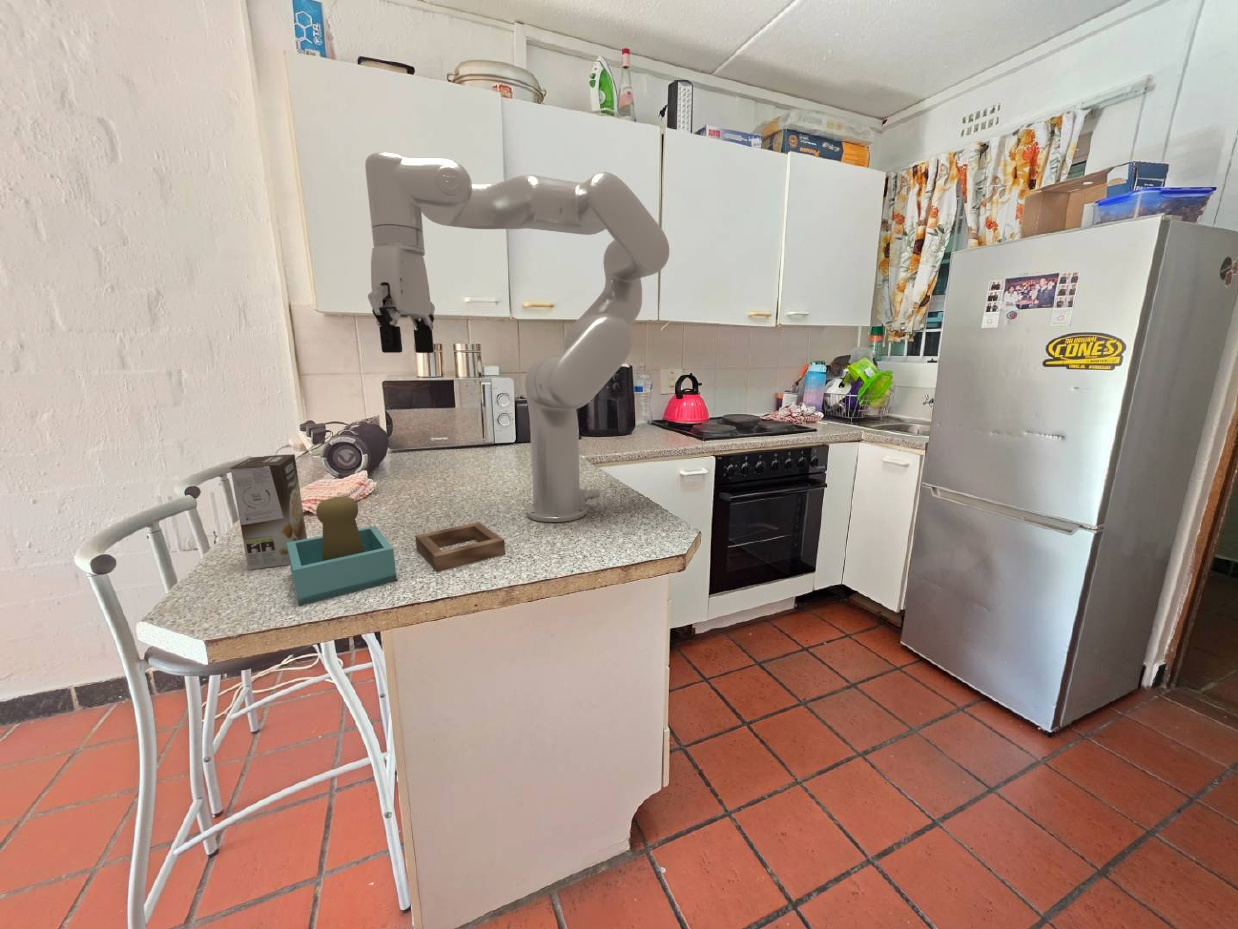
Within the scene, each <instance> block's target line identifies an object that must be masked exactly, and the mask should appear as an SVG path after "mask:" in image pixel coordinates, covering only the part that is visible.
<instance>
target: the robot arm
mask: <svg viewBox="0 0 1238 929" xmlns="http://www.w3.org/2000/svg"><path fill="white" fill-rule="evenodd" d="M364 166H365V177H366V186H367V195H368V205H369V206H368V207H369V214H370V224H371V234H372V235H371V236H372V242H373V247H372V250H371V257H370V259H371V260H370V279H371V280H370V281H371V282H370V284H371V285H370V286H371V292H369V293H368V294H367V299H368V301H369V304H370V306H371V308H372V310H371V311H372V314H373V316H374V317H375V319H376V320H375V321H376V325H377V326H378V328H379V337H380V346H381V351H382V353H384V354H385V353H386V354H388V353H389V354H390V353H391V354H392V353H394V354H395V353H396V354H399V353H402V352H403V344H402V342H403V340H402V335H401V331H402V330H401V326H398V323H399V321H400V318H405V319H406V318H409V317H410V320H411V322H412V323H413V325H414V327H415V329H413V337H414V338H413V339H414V347H415V348H414V349H415V350H414V351H415V352H416V353H417V354H433V353H434V352H435V349H434V348H435V347H434V337H433V329H434V324H433V323H434V321H435V316H434V315H435V311H436V310H435V309H436V308H435V305H434V304H433V302H432V301H431V295H430V294H431V292H430V286H429V280H428V274H427V272H428V271H427V268H426V264H425V262H426V261H425V258H424V256H425V255H426V251H425V250H426V249H425V238H424V228H423V218H422V217H423V216H424V217H425V218H426V219H428V220H430V221H431V222H433V223H435V224H438V225H441V226H445V227H453V228H463V229H472V230H520V229H521V230H522V229H530V230H540V231H547V232H556V233H565V234H573V235H574V234H575V235H585V236H589V235H591V236H592V235H596V234H598V233H601V232H604V231H605V230H606V232H608V234H609V235H610V236H611V238H612V239H613V240H612V241H611V242H610V243H609V244H608V245H607V246H606V249H605V250H604V254H603V262H602V263H603V270H604V274H605V275H604V276H605V280H604V281H605V283H604V288H603V290H602V292H601V293H600V294H599V296H598V297H597V298H596V300H595V301H594V302H593V303H592V304H591V305H590V306H589V307H588V309H587V310H586V311H585V312H584V313H583V314H582V315H581V316H580V317H579V318H578V319H577V320H575V322H574V323H573V324H572V326H570V328H569V329H568V331H567V333H566V335H565V337H564V348H565V351H564V352H563V353H562V354H561V355H547V356H542V357H539V359H536V360H535V361H534V362H532V364H531V365H530V366H529V368H528V369H527V371H526V374H525V382H524V388H525V389H524V391H525V397H526V402H527V403H526V404H527V408H528V415H529V416H528V417H529V428H530V432H529V433H530V453H531V454H530V456H531V478H532V479H531V480H532V482H531V483H532V500H533V501H532V503H531V504H529V505H528V506H527V507H526V508H525V515H526V516H527V517H528V518H529V519H531V520H534V521H536V522H542V523H543V522H544V523H563V522H570V521H571V522H572V521H574V520H578V519H582V518H583V517H585V515H587V514H588V511H589V510H588V507H589V506H588V505H587V504H586V502H587V501H588V500H593V499H594V500H595V499H598V498H600V496H601V492H600V490H599V489H598V488H595V489H590V490H588V489H587V488H581V487H580V486H581V484H580V480H581V479H580V451H579V449H580V448H579V446H580V445H579V444H580V443H579V438H580V435H579V434H580V432H579V430H580V428H579V418H578V413H577V410H578V409H580V408H583V407H584V406H586V405H587V404H588V403H589V402H590V401H591V400H593V399H594V398H595V397H596V395H597V394H598V393H599V392H600V391H601V390H602V389H603V388H604V387H605V385H606V384H607V383H608V382H609V381H610V380H611V379H612V377H613V376H614V375H615V374H616V373H617V371H618V370H620V369H621V367H622V366H623V365H624V364H625V362H626V361H627V359H628V357H629V355H630V352H631V349H632V344H633V334H632V330H631V326H632V324H633V323H635V321H636V319H637V318H638V316H639V314H640V312H641V309H642V305H643V287H642V286H643V285H642V278H646V277H650V276H652V275H655V274H658V273H659V272H660V271H662V270H663V268H664V267H665V266H666V264H667V262H668V260H669V258H670V245H669V240H668V238H667V235H666V234H665V232H664V230H663V229H662V227H661V226H660V225H659V223H658V222H657V221H656V219H655V218H654V217H653V216H652V214H651V213H650V212H649V210H648V209H647V208H646V206H644V204H643V203H642V201H641V200H640V199H639V198H638V196H637V195H636V194H635V193H634V192H633V190H632V189H631V188H630V187H629V186H628V185H627V184H626V183H625V182H624V181H623V180H622V179H621V178H620V177H618V176H616V175H615V174H613V173H611V172H607V171H602V172H600V171H599V172H597V173H596V174H594V175H593V176H591V177H590V178H588V179H587V180H586V181H584V182H578V181H571V180H563V179H558V178H552V177H546V176H542V175H536V174H524V175H523V174H522V175H519V176H515V177H512V178H509V179H506V180H504V181H503V180H502V181H500V182H497V183H489V184H488V183H487V184H473V182H472V179H471V176H470V174H469V172H468V171H467V170H466V168H464V166H463V165H462V164H460V163H459V162H458V161H456V160H452V159H450V158H446V157H410V156H409V157H408V156H407V157H406V156H404V155H402V154H398V153H394V152H387V151H386V152H384V151H382V152H380V151H379V152H373V153H371V154H369V155H368V156H367V158H366V159H365V164H364ZM422 215H423V216H422ZM419 319H420V320H419Z"/></svg>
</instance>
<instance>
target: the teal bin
mask: <svg viewBox="0 0 1238 929" xmlns="http://www.w3.org/2000/svg"><path fill="white" fill-rule="evenodd" d="M358 530H359V534H360V537H361V541H362V544H363V548H364V551H365V552H363V553H359V554H354V555H349V556H345V557H340V558H336V559H331V560H326V561H322V542H323V535H319V536H314V537H310V538H308V537H307V539H303V540H298V541H292V542H287V548H288V554H289V560H290V565H289V566H290V571H291V577H292V581H293V582H292V583H293V586H294V591H295V594H296V595H295V596H296V601H297V604H298V605H297V606H298V607H300V606H301V607H302V606H305V605H309V604H312V603H317V602H320V601H323V600H328V599H332V598H337V597H339V596H343V595H347V594H348V595H349V594H351V593H355V592H359V591H363V590H367V589H370V588H374V587H378V586H383V585H387V584H390V583H394V582H397V581H398V579H397V569H396V568H397V567H396V560H395V559H396V558H395V550H394V547H393V546H392V545H391V543H390V542H389V541H388V540H387V538H386V537H385V536H384V535H383V533H382V531H381V530H380V529H379V528H378V527H377V526H376V525H372V526H367V527H362V528H358Z"/></svg>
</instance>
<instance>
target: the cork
mask: <svg viewBox="0 0 1238 929" xmlns="http://www.w3.org/2000/svg"><path fill="white" fill-rule="evenodd" d="M315 514H316V518H317V519H318V521H319V522H320V523H321V524H322V536H323V542H322V561H326V560H331V559H336V558H340V557H345V556H349V555H354V554H359V553H363V552H365V551H364V548H363V544H362V541H361V537H360V534H359V530H358V529H359V527H358V524H357V520H356V519H357V517H358V514H359V505H358V503H357V501H356V500H355V499H354V498H352V497H348V496H336V497H335V496H334V497H331V498H327V499H324V500H322V501H320V502H319V503H318V505H317V507H316V511H315Z"/></svg>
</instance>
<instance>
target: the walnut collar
mask: <svg viewBox="0 0 1238 929" xmlns="http://www.w3.org/2000/svg"><path fill="white" fill-rule="evenodd" d="M414 539H415V546H416V548H415V549H416V551H417V552H418V554H420V555H421V556H422V557H423V559H425V561H426V562H427V563H428V564H429V565H430V567H432V568H433V570H434V571H435V572H436V573H438V572H442V571H445V570H450V569H453V568H457V567H462V566H465V565H469V564H473V563H478V562H481V561H484V560H488V558H489V559H492V558H496V557H500V556H501V557H502V556H504V554H505V555H506V546H505V542H506V541H505V539H503V537H501V536H500V535H498V534H496V533H495V532H494V531H492V530H491V529H489V527H487V526H485V525H484V524H483V523H481V522H480V521H478V522H473V523H469V524H467V523H466V524H463V525H459V526H454V527H449V528H444V529H438V530H435V531H429V532H425V533H420V534H416V535H415V538H414ZM474 540H475V541H476V542H475V543H470V544H467V545H462V546H459V547H453V548H450V549H446V550H442V549H441V548H444V547H448V546H452V545H456V544H461V543H465V542H469V541H474Z"/></svg>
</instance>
